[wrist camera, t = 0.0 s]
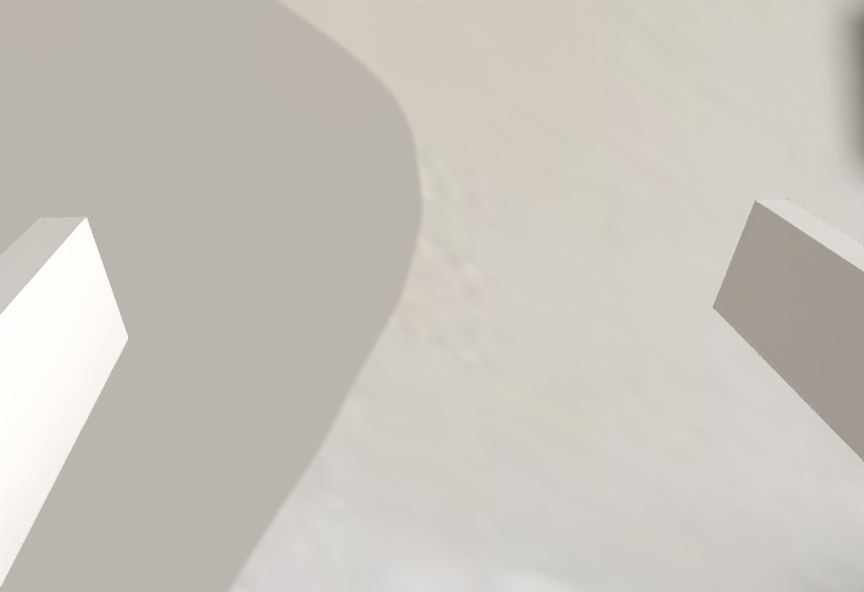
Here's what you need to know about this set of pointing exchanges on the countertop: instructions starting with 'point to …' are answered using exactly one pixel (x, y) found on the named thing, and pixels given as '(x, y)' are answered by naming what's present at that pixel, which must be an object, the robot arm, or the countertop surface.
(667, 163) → the countertop surface
